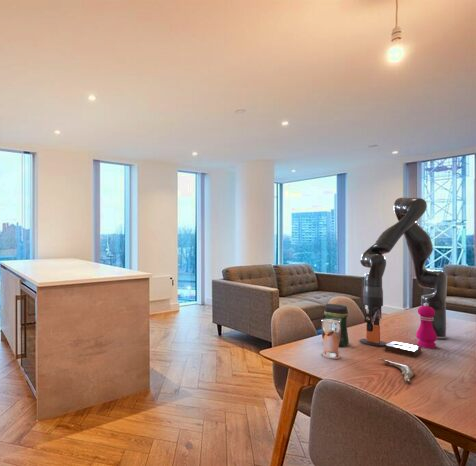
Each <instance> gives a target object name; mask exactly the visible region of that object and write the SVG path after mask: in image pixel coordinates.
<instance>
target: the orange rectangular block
mask: <svg viewBox="0 0 476 466" xmlns="http://www.w3.org/2000/svg"><path fill="white" fill-rule="evenodd" d="M365 326H366V327H365V328H366V329H365V330H366V335H365V336H366V338H365V339H366V341H369V342H374V343H378V344H379V343H380V341H381V325H379V326H377V325H373V331H372V332H371V331H367V323H366V325H365Z"/></svg>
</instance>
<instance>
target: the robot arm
mask: <svg viewBox="0 0 476 466" xmlns="http://www.w3.org/2000/svg"><path fill="white" fill-rule="evenodd" d="M427 208H428V203H427V201H426V200H425V199H424V198H421V197H409V196H408V197H407V196H405V197H398V198H396V199H395V200H394V202H393V212H394V215H395V216H396V219H397V222H396V223H394V224H393V225H391V226H389V227H388V228H386V229H385V230H384V231H383V232H382V233H381V234H380V235H379V236H378V238H377V239H376V240H375V242H374V243H373V244H372V245H370V247H369V248H368V249H366V250H365V251H364V252H363V253H362V254H361V256H360V259H359V260H360V261H359V262H360V264H361V266H362V267H365V268H367V269H369V272H367V273H365V274H364V275H363V290H362V295H363V298H362V299H363V300H362V301H363V302H362V303H363V305H365V306H367V308H365V309H364V319H363V320H364V323H366V324H367V331H371V332H372V331H373V325H377V326H380V322H381V320H382V317H383V316H382V307H383V306H384V290H383V276H384V274H385V270H386V267H387V260H386V257H385V256H384V255H385V254H389V253H390V252H391V251H392V250H393V249H394V248H395V245H396V244H397V243H398V241H399V240H400V239H401V237H402V236H403V235H404V240H405V243H406V246H407V249H408V252H409V254H410V257H411V261H412V265H413V268H414V274H415V278H416V283H417V285H418V286H419V287H420V288H422V289H430V290H434V292H432V293H430V294H429V293H428V294H422V295H421V297H420V307H421V306H424V303H428V304H429V307H432V308H433V309H434V310H435V315H434V316H433V318H434V319H433V320H434V321H432V326H433V329H434V331H435V333H436V335H437V340H446V339H447V293H448V292H447V290H448V276H447V273H446V272H445V271H443V270H431V269H426V263H427V261H428V259H429V258H430V256H432V253H433V251H434V246H433V242H432V239H431V237H430V235H429V233H428V232H427V231H426V230H425V229H424V228H422V226H420V225H419V224H418V223H417V221H418V220H420V219H421V218H422V216H423V215H424V214H425V213H426V211H427Z"/></svg>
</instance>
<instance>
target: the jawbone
mask: <svg viewBox="0 0 476 466" xmlns="http://www.w3.org/2000/svg"><path fill="white" fill-rule="evenodd" d="M376 359H378V360H380V361H384V362H385V363H384V364H385V365H389V364H390V365H392V366H394V367H396V368H398V369H399V370H400V371H401V375H404V377H403V379H404V381H405V382H406V383H409V384H410V383H411V380H410V379H411V378H412V377H414V374H415V373H414V372H413V370H412V369H411V368H410V365H408V364H405V363H400V362H393V361H390V360H388V359H387V358H386V359H384V358H380V357H376Z"/></svg>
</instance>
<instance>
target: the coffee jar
mask: <svg viewBox="0 0 476 466" xmlns="http://www.w3.org/2000/svg"><path fill="white" fill-rule="evenodd" d="M323 313H324V316H325V319H333V320H337V321H340V327H341V337H340V342H339V347H347V346H349V344H350V342H349V341H350V340H349V333H348V322H347V321H348V320H347V319H348V318H349V317H348V316H349V310H348V306H347V305H344V304H338V303H326V304H325V305H324V309H323Z"/></svg>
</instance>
